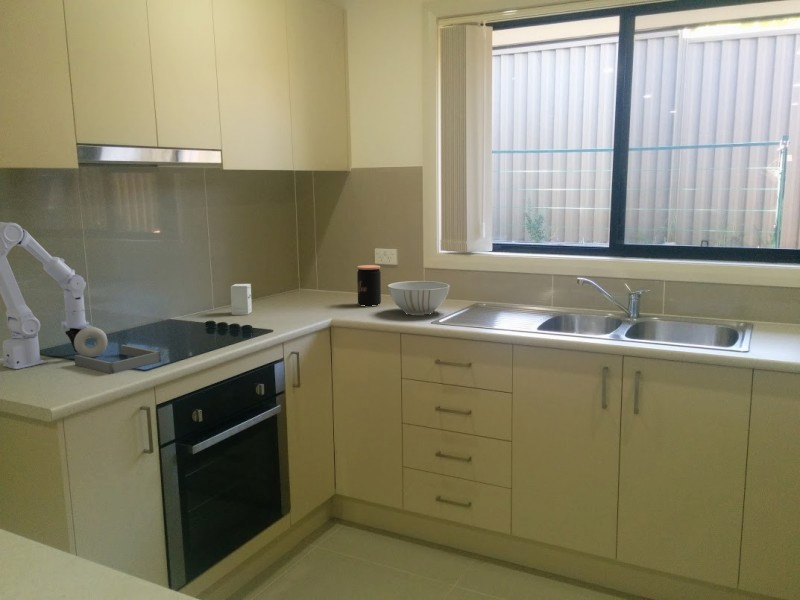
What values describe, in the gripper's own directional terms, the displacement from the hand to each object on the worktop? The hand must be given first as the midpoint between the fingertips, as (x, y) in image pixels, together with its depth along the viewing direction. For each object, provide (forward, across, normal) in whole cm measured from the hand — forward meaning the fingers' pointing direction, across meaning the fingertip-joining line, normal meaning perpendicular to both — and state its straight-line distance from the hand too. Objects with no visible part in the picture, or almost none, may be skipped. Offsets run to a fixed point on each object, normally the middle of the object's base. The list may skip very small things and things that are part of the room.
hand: (78, 351), depth 220 cm
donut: (+1, -8, 0) cm, 8 cm away
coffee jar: (+1, -27, -126) cm, 129 cm away
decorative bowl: (+1, -57, -121) cm, 134 cm away
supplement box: (+1, +8, -80) cm, 80 cm away
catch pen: (+1, -22, 0) cm, 22 cm away
